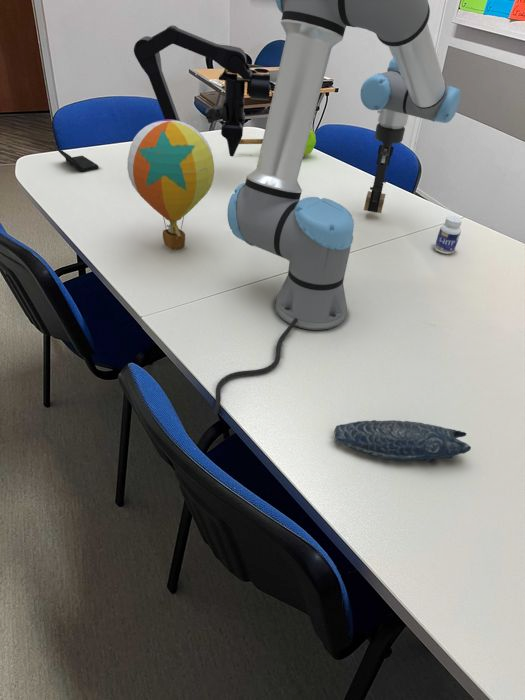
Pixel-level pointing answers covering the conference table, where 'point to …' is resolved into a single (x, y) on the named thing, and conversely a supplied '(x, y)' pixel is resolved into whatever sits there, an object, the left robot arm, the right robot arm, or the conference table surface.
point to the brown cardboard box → (379, 202)
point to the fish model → (401, 439)
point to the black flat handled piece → (79, 161)
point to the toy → (171, 172)
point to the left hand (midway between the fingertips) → (232, 151)
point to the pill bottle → (448, 235)
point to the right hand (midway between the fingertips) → (373, 207)
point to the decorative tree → (308, 149)
